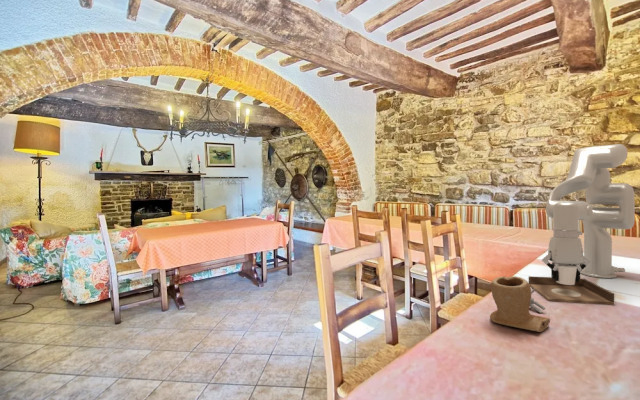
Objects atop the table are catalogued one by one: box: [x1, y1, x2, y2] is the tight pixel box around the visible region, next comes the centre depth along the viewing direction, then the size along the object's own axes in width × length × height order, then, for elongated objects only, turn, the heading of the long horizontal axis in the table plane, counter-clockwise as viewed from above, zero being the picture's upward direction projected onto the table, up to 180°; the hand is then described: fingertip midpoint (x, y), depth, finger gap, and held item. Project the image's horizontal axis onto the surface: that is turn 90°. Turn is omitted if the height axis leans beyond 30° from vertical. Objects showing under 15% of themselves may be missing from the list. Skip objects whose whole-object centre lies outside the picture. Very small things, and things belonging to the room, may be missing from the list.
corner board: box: [528, 276, 615, 306], centre depth 118 cm, size 20×18×4 cm
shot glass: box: [554, 264, 577, 285], centre depth 117 cm, size 7×7×7 cm
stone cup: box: [489, 275, 551, 333], centre depth 93 cm, size 15×12×15 cm
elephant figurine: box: [529, 288, 546, 314], centre depth 105 cm, size 10×6×9 cm
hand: (565, 280), depth 117 cm, fingers closed on shot glass, 6 cm apart
